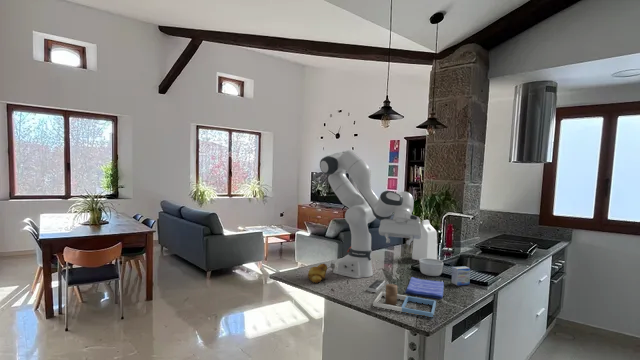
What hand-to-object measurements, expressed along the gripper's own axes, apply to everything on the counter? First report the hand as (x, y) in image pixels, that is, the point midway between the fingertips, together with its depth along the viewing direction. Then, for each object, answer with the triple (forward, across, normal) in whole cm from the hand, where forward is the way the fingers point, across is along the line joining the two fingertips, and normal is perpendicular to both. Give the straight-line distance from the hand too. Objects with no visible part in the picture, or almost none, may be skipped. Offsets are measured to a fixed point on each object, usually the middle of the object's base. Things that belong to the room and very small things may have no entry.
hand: (397, 243), depth 158 cm
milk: (-35, +4, +70) cm, 78 cm away
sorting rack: (+25, +6, +9) cm, 28 cm away
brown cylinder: (+25, 0, +9) cm, 27 cm away
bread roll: (+16, -42, +19) cm, 49 cm away
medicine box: (-5, +27, +40) cm, 49 cm away
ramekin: (-13, +11, +48) cm, 51 cm away
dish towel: (+7, +11, +29) cm, 32 cm away
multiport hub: (+14, -11, +22) cm, 28 cm away
